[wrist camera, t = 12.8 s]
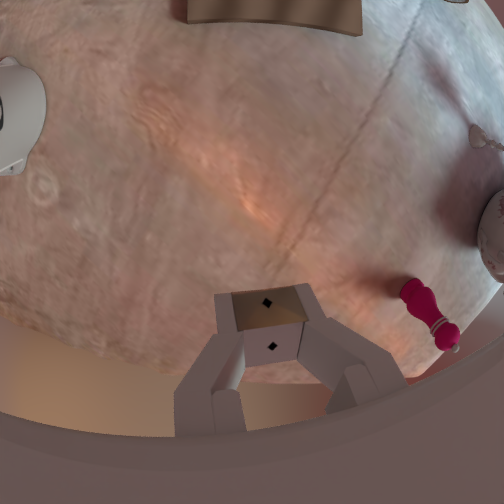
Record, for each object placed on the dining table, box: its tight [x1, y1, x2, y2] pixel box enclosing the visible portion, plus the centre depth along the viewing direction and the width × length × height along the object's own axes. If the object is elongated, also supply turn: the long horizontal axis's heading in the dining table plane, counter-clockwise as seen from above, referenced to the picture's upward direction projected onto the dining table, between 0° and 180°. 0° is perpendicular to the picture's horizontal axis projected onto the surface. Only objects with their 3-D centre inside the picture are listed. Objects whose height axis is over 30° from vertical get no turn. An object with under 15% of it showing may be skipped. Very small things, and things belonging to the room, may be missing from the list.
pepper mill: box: [400, 279, 460, 353], centre depth 48 cm, size 7×7×20 cm
